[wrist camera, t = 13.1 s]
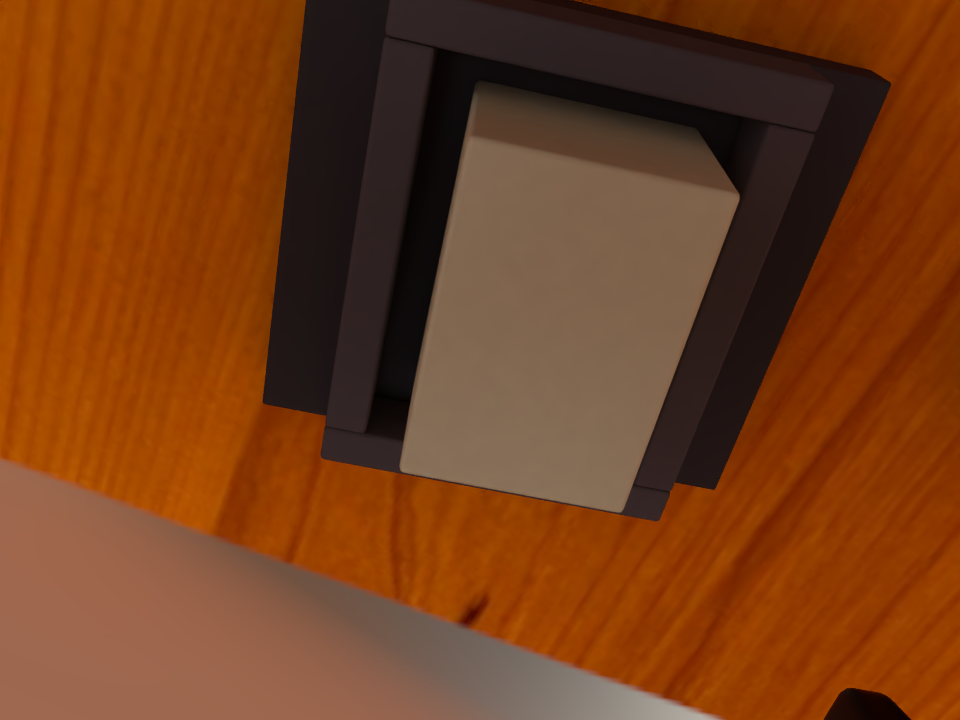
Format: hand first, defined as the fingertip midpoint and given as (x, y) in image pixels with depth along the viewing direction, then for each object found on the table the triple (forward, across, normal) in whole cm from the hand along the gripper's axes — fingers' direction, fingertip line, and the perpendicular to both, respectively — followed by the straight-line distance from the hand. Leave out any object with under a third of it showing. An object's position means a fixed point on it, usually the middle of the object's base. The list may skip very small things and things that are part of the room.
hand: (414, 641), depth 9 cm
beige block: (+9, -2, 0) cm, 10 cm away
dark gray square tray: (+10, -2, 0) cm, 11 cm away
